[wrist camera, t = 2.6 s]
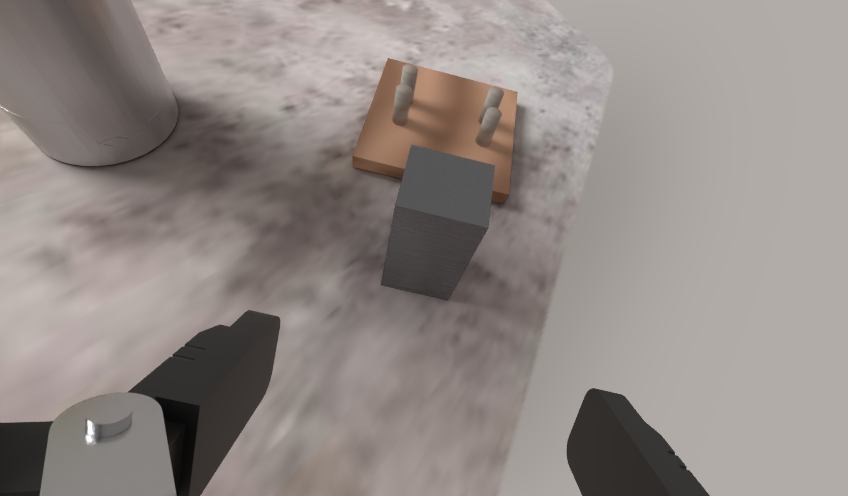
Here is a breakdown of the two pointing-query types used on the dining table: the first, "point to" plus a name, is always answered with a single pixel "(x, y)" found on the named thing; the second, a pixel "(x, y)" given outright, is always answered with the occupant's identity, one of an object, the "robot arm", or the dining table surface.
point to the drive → (437, 221)
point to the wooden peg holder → (437, 122)
